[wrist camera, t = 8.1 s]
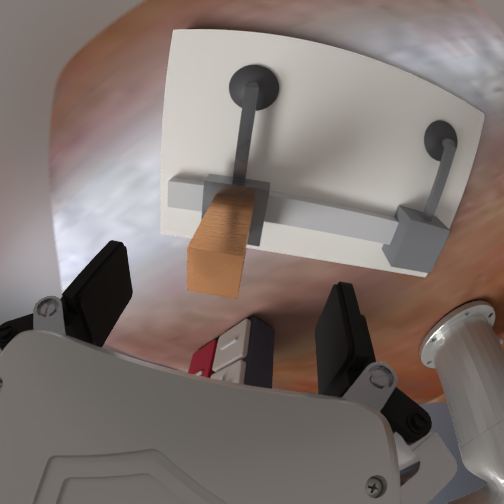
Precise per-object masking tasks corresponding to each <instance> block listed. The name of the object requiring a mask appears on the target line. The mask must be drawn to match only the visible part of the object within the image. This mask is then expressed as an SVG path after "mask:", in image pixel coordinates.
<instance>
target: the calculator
mask: <svg viewBox="0 0 504 504" xmlns="http://www.w3.org/2000/svg"><path fill="white" fill-rule="evenodd" d="M273 351H274V330H273V329H272V328H271V327H269V326H268V325H266V324H265V323H264V322H262V321H261V320H259V319H258V318H256V317H251V318H250V319H245V320H243V321H242V322H240V323H239V324H237V325H236V326H234V327H233V328H231V329H230V330H228V331H227V332H225V333H224V334H222V335H221V336H220V337H219V340H213V341H212V342H210V343H209V344H207V345H206V346H204V347H203V348H201V349H200V350H198V351H197V352H195V353H194V354H193V357H192V360H191V364H190V368H189V371H188V373H189V374H194V375H198V376H203V377H207V378H212V379H217V380H222V381H227V382H233V383H238V384H244V385H250V386H256V387H263V388H270V389H272V376H273Z"/></svg>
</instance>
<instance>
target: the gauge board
mask: <svg viewBox="0 0 504 504" xmlns="http://www.w3.org/2000/svg"><path fill="white" fill-rule="evenodd" d="M249 81H255V82H257V83H258V84H259V85H260V89H259V93H258V99H257V106H256V112H255V119H254V125H253V132H252V139H251V145H250V152H249V159H248V166H247V173H246V179H251V180H257V181H263V182H269V183H270V191H269V197H268V202H267V208H266V213H265V219H264V224H263V230H262V235H261V241H260V246H253V245H247V248H252V249H258V250H264V251H270V252H276V253H283V254H289V255H295V256H301V257H307V258H313V259H319V260H325V261H331V262H337V263H343V264H349V265H355V266H361V267H367V268H373V269H379V270H385V271H391V272H397V273H403V274H409V275H415V276H421V277H426V276H427V274H428V273H430V272H431V270H432V268H433V266H434V265H435V263H436V261H437V259H438V257H439V255H440V252H441V250H442V248H443V246H444V244H445V242H446V240H447V238H448V235H449V233H450V230H449V228H450V226H451V223H452V221H453V218H454V216H455V213H456V211H457V208H458V206H459V203H460V201H461V198H462V195H463V192H464V190H465V187H466V184H467V181H468V178H469V175H470V172H471V169H472V165H473V162H474V159H475V155H476V151H477V148H478V144H479V140H480V136H481V132H482V127H483V123H484V118H485V114H484V113H482V112H481V111H479V110H478V109H476V108H475V107H473V106H471V105H470V104H468V103H466V102H465V101H463V100H461V99H460V98H458V97H456V96H455V95H453V94H451V93H449V92H447V91H445V90H444V89H442V88H440V87H438V86H436V85H434V84H432V83H430V82H428V81H426V80H424V79H422V78H420V77H417V76H415V75H413V74H411V73H408V72H406V71H404V70H401V69H399V68H396V67H394V66H391V65H389V64H386V63H384V62H381V61H378V60H375V59H373V58H370V57H367V56H364V55H361V54H357V53H354V52H351V51H348V50H344V49H341V48H337V47H333V46H329V45H325V44H321V43H317V42H312V41H308V40H303V39H298V38H292V37H286V36H280V35H274V34H266V33H258V32H248V31H235V30H215V29H185V30H173V35H172V41H171V47H170V54H169V61H168V69H167V78H166V87H165V97H164V108H163V122H162V138H161V162H160V230H161V234H165V235H172V236H178V237H184V238H190V239H192V238H193V236H194V234H195V232H196V230H197V228H198V226H199V224H200V222H201V218H202V202H203V188H204V180H205V179H206V177H207V176H208V175H209V174H216V175H224V176H231V177H233V172H234V164H235V156H236V148H237V141H238V133H239V126H240V119H241V112H242V105H243V98H244V91H245V86H246V84H247V83H248V82H249Z"/></svg>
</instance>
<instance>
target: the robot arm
mask: <svg viewBox="0 0 504 504" xmlns="http://www.w3.org/2000/svg"><path fill="white" fill-rule="evenodd" d="M132 293H133V291H132V284H131V278H130V271H129V264H128V256H127V249H126V246H124V244H123V243H122V242H118V241H113V240H111V241H109V242H108V243H107V245H106V246H105V247H104V248H103V249H102V250H101V251H100V252H99V253H98V254H97V255H96V256H95V257H94V258H93V259H92V260H91V262H90V263H89V264H88V265H87V266H86V267H85V268H84V269H83V270H82V271H81V273H80V274H79V275H78V276H77V277H76V278H75V279H74V281H73V282H72V283H71V284H70V285H69V286H68V288H67V289H66V290H65V291H64V292H63V294H62V298H61V299H59V298H58V297H56V296H47V297H44V298H42V299H41V300H39V301H38V302H37V303H36V305H35V307H34V310H33V314H29V315H26V316H23V317H20V318H17V319H14V320H11V321H8V322H5V323H3V324H2V325H1V326H0V504H427V503H428V502H429V501H431V500H432V498H434V497H435V496H436V495H437V494H438V493H439V492H440V491H441V490H442V489H443V488H444V487H445V485H446V484H447V483H448V482H449V481H450V480H451V479H452V478H453V477H454V475H455V474H456V470H457V463H456V460H455V459H454V457H453V456H452V454H451V453H450V451H449V450H448V449H447V447H446V446H445V444H444V443H443V441H442V440H441V438H440V437H439V436H438V434H437V433H436V432H434V433H433V432H432V431H431V430H430V429H431V425H432V423H431V418H430V416H429V414H428V413H427V412H426V411H425V410H424V409H423V408H422V407H420V406H419V405H418V404H417V403H415V402H414V401H413V400H412V399H410V398H409V397H408V396H407V395H405V394H404V393H403V392H402V391H400V390H399V389H398V388H397V387H396V384H397V377H396V374H395V372H394V371H393V369H392V368H391V367H390V366H388V365H386V364H385V363H381V362H376V359H375V355H374V351H373V347H372V343H371V339H370V335H369V331H368V327H367V323H366V319H365V317H364V316H363V315H361V314H360V310H359V307H358V303H357V299H356V296H355V292H354V289H353V285H352V284H351V283H345V282H339V283H338V284H337V285H336V284H334V285H333V287H332V290H331V292H330V295H329V297H328V300H327V302H326V305H325V307H324V309H323V312H322V314H321V316H320V319H319V321H318V323H317V326H316V329H315V340H316V354H317V371H318V391H319V394H312V393H302V392H293V391H285V390H278V389H270V388H263V387H256V386H250V385H244V384H238V383H233V382H227V381H222V380H217V379H212V378H207V377H203V376H198V375H194V374H189V373H185V372H181V371H177V370H173V369H169V368H165V367H162V366H158V365H155V364H151V363H147V362H144V361H141V360H137V359H134V358H131V357H128V356H125V355H121V354H118V353H115V352H112V351H110V350H106V349H103V348H102V346H103V344H104V343H105V341H106V339H107V337H108V336H109V334H110V332H111V330H112V329H113V327H114V325H115V324H116V322H117V320H118V319H119V317H120V315H121V314H122V312H123V311H124V309H125V307H126V306H127V304H128V302H129V301H130V299H131V297H132ZM494 322H495V311H494V309H493V307H492V306H491V305H490V303H488V302H486V301H481V300H480V301H473V302H470V303H467V304H465V305H462V306H460V307H458V308H457V309H455V310H453V311H452V312H450V313H449V314H448V315H446V316H445V317H444V318H442V319H441V320H440V321H439V322H438V323H437V324H436V325H435V326H434V327H433V328H432V329H431V330H430V331H429V333H428V334H427V335H426V337H425V338H424V340H423V342H422V344H421V347H420V351H419V354H420V358H421V361H422V363H423V364H424V365H425V366H427V367H430V368H436V370H437V373H438V375H439V378H440V381H441V384H442V387H443V390H444V393H445V397H446V400H447V403H448V406H449V410H450V413H451V417H452V420H453V424H454V427H455V432H456V436H457V440H458V444H459V449H460V453H461V458H462V461H463V463H464V465H465V467H466V468H467V469H468V470H469V471H470V472H472V473H473V474H475V475H477V476H478V477H480V478H482V479H484V480H486V481H487V482H488V484H486V485H485V486H483V487H481V488H480V489H478V490H476V491H474V492H472V493H470V494H467V495H465V496H463V497H460V498H458V499H455V500H453V501H450V502H448V503H445V504H504V349H503V347H502V344H503V338H502V337H497V336H496V334H495V332H494V330H493V329H492V327H493V325H494Z"/></svg>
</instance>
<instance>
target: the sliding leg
mask: <svg viewBox="0 0 504 504" xmlns="http://www.w3.org/2000/svg"><path fill="white" fill-rule="evenodd" d="M259 89H260V85H259V84H258V83H257V82H255V81H249V82H248V83H247V84H246V86H245V91H244V98H243V105H242V112H241V119H240V126H239V133H238V141H237V148H236V156H235V164H234V172H233V177H231V176H224V175H216V174H209V175H208V176H207V177H206V179H205V180H204V188H203V202H202V218H201V222H200V224H199V226H198V228H197V230H196V232H195V234H194V236H193V238H192V239H191V241H190V243H189V245H188V247H187V290H190V291H195V292H201V293H206V294H212V295H218V296H223V297H229V298H235V299H237V298H238V292H239V287H240V281H241V276H242V270H243V265H244V259H245V254H246V248H247V245H253V246H260V241H261V235H262V230H263V224H264V219H265V213H266V208H267V202H268V197H269V191H270V183H269V182H263V181H257V180H251V179H246V173H247V166H248V159H249V152H250V145H251V139H252V132H253V125H254V119H255V112H256V106H257V99H258V93H259Z"/></svg>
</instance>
